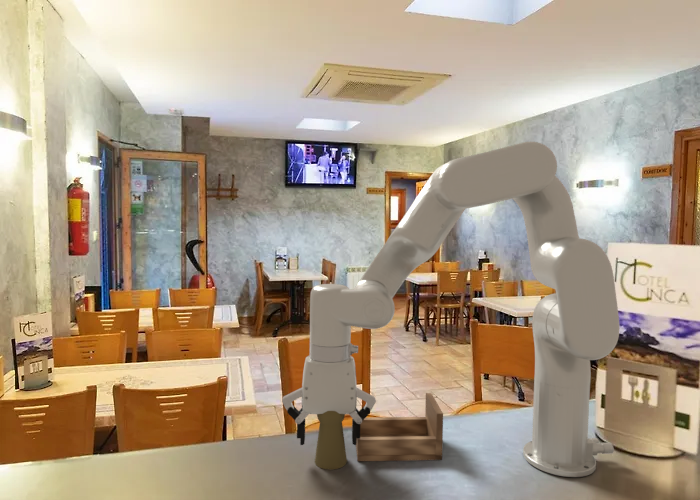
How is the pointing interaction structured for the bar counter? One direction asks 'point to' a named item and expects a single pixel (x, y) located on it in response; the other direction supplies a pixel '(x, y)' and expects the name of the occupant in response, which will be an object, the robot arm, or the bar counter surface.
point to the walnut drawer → (402, 436)
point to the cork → (330, 441)
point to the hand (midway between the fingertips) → (328, 441)
